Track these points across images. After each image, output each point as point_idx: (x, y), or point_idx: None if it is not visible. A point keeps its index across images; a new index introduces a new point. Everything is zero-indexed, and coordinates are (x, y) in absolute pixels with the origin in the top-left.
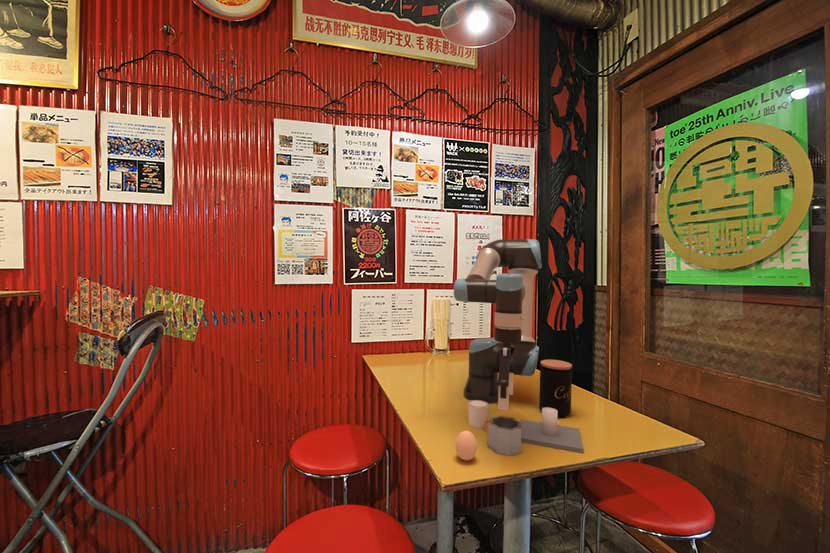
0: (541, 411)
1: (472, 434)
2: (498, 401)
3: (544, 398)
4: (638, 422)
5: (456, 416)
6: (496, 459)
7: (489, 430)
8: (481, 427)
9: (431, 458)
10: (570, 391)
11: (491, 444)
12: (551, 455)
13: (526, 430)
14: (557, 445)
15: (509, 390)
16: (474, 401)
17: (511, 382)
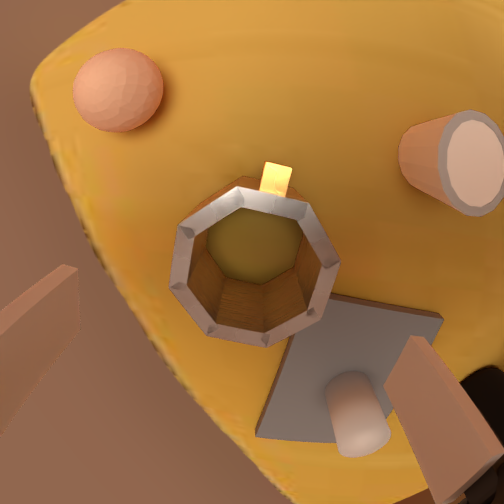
0: (482, 370)
1: (96, 107)
2: (32, 289)
3: (489, 405)
4: (393, 494)
5: (470, 89)
6: (157, 201)
7: (232, 186)
8: (400, 167)
9: (132, 2)
10: None
11: (222, 189)
12: (226, 367)
13: (364, 331)
14: (271, 394)
15: (404, 386)
16: (497, 150)
17: (420, 440)
